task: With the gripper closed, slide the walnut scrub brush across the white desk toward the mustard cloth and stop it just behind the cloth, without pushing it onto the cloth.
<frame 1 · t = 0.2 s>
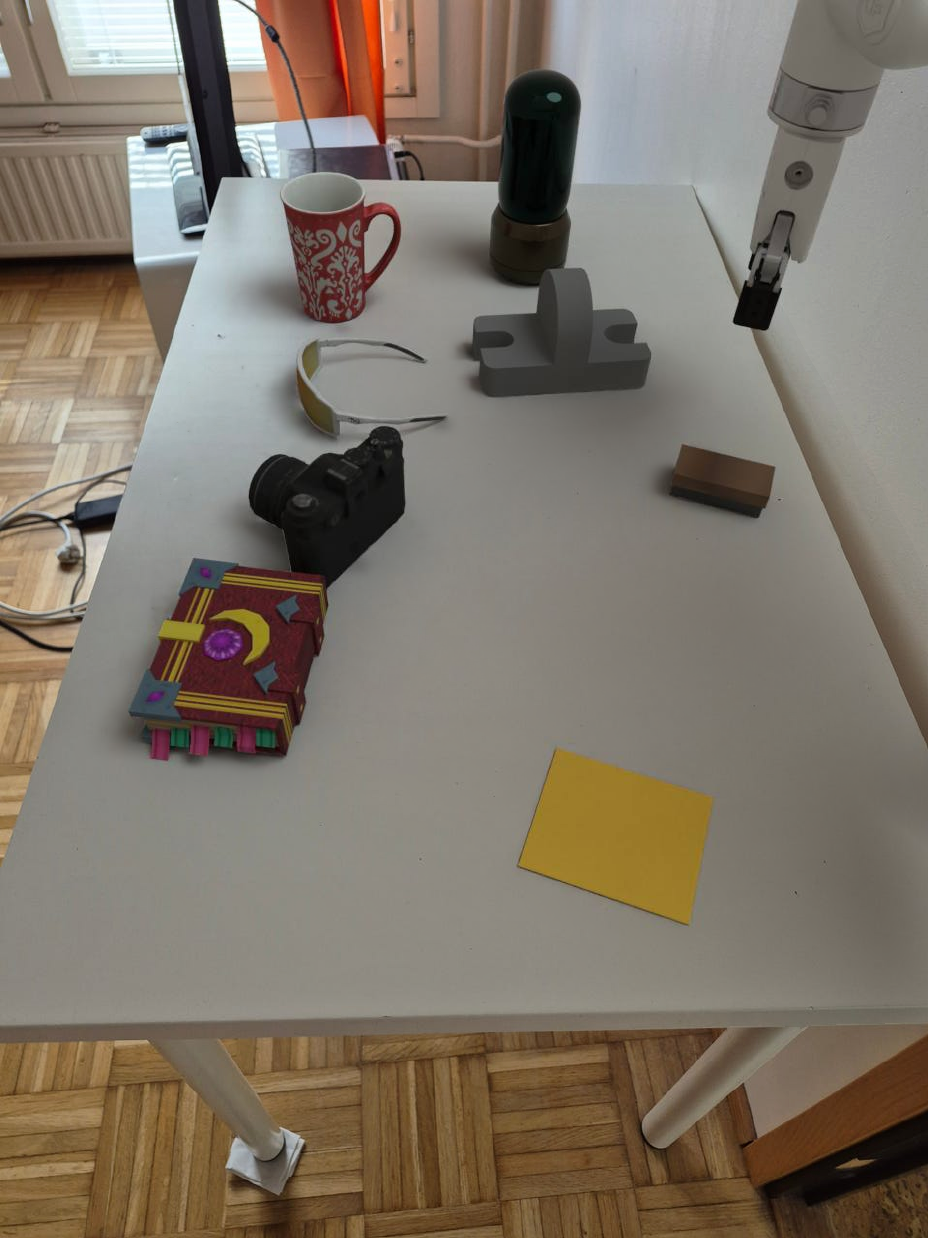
hand: (757, 297, 82), 14 cm above the table, tool pointing down, fingers open, 9 cm apart
cloth: (618, 831, 63), on the table
decorative book: (241, 678, 71), on the table
camera: (327, 530, 81), on the table
sunglasses: (369, 399, 93), on the table
brush: (716, 492, 86), on the table
lamp: (526, 269, 110), on the table
bracket: (557, 367, 98), on the table
mug: (348, 307, 104), on the table
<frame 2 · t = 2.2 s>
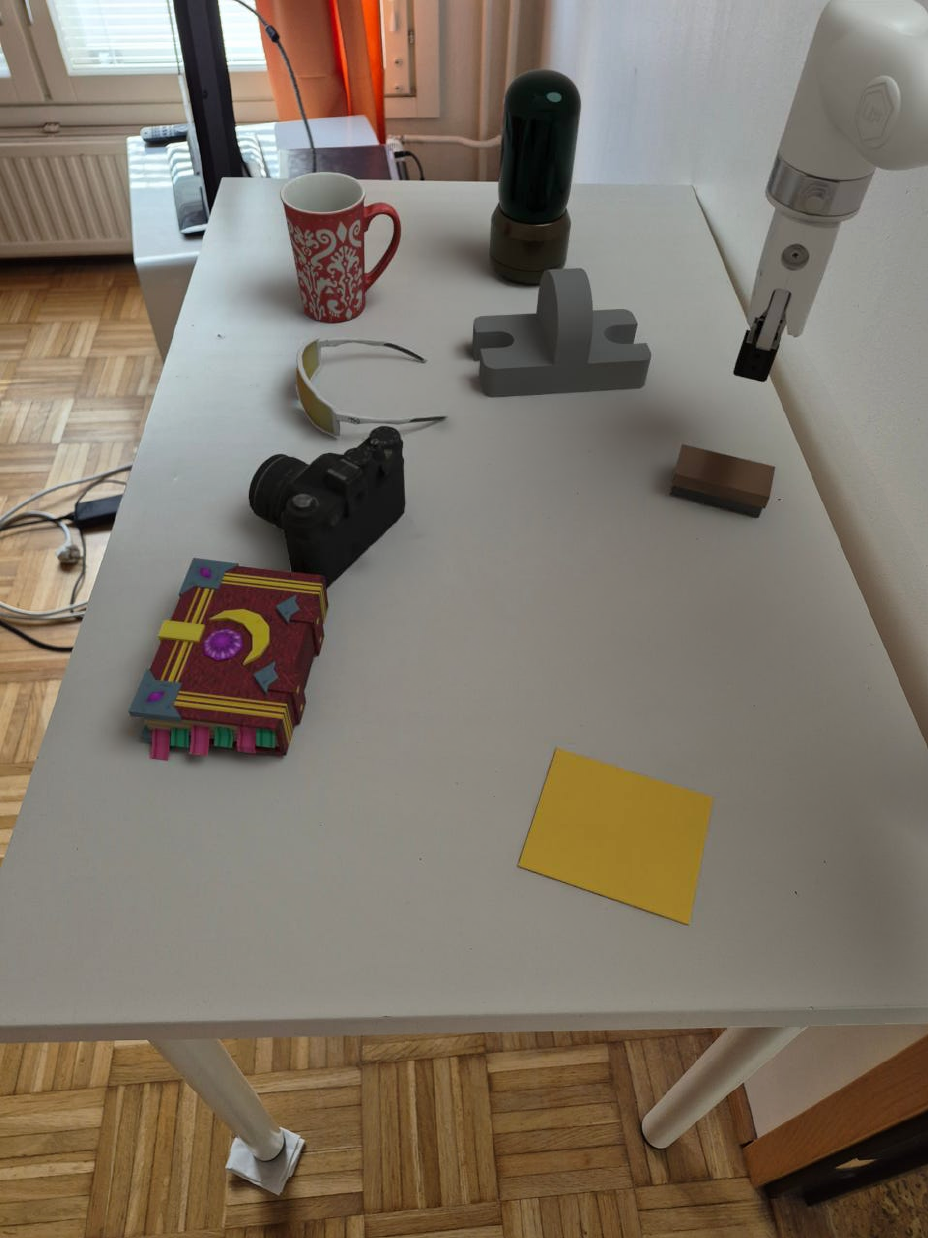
hand: (750, 373, 85), 8 cm above the table, tool pointing down, fingers closed
nothing on the table moved.
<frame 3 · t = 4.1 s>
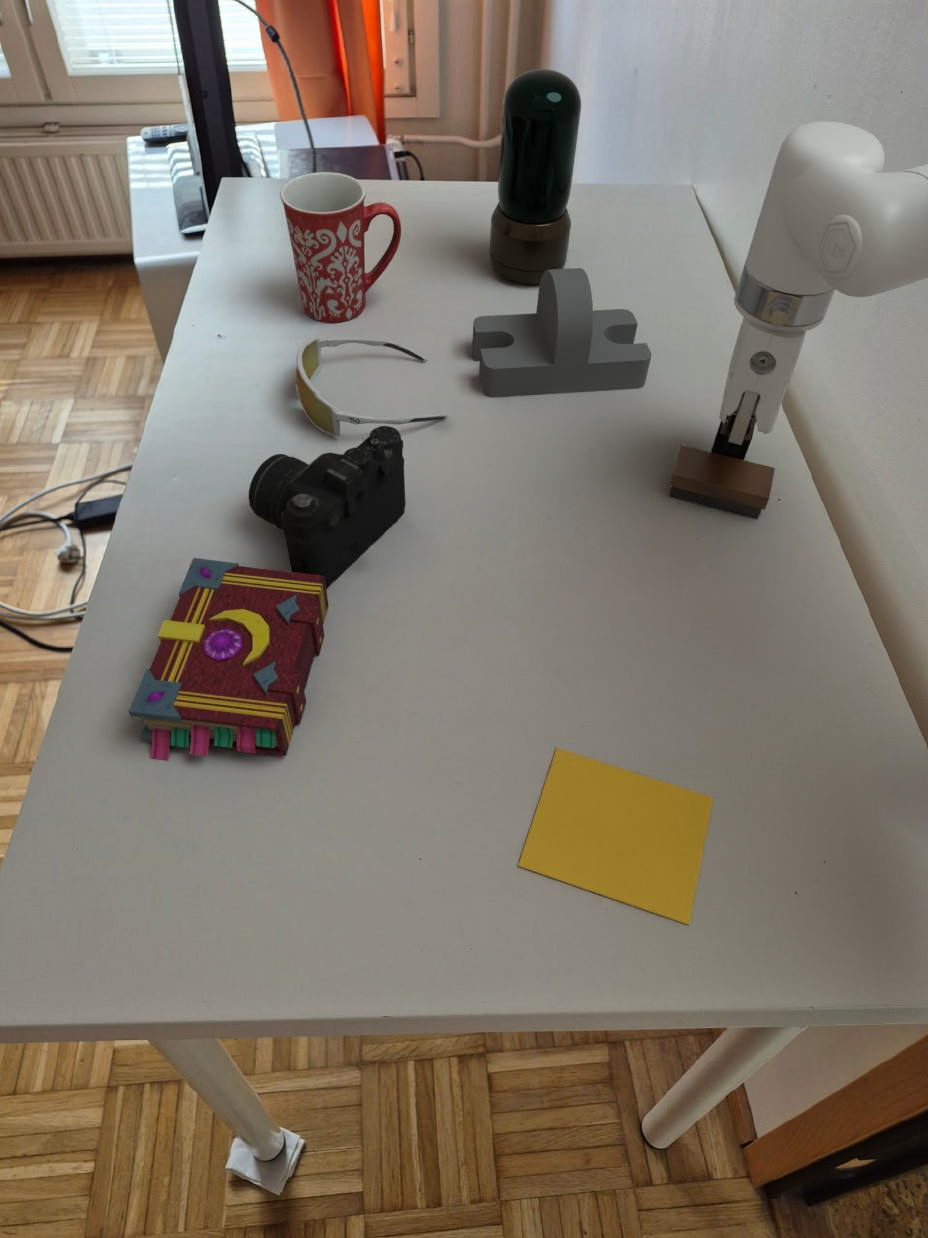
hand: (725, 459, 88), 1 cm above the table, tool pointing down, fingers closed
brush: (716, 494, 86), on the table, touching gripper
everything else where it was.
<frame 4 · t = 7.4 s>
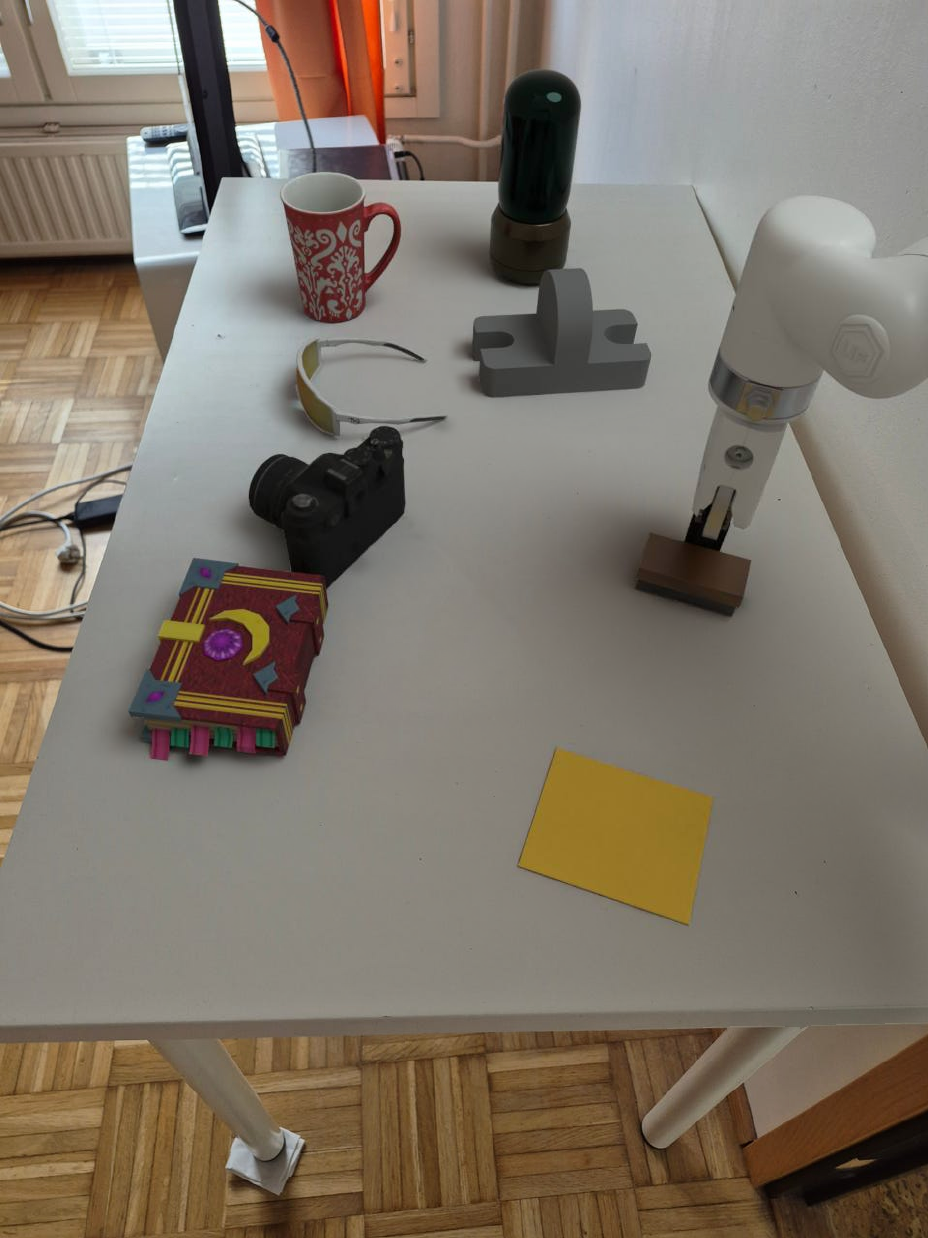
hand: (701, 546, 80), 1 cm above the table, tool pointing down, fingers closed
brush: (687, 586, 78), on the table, touching gripper
everything else where it was.
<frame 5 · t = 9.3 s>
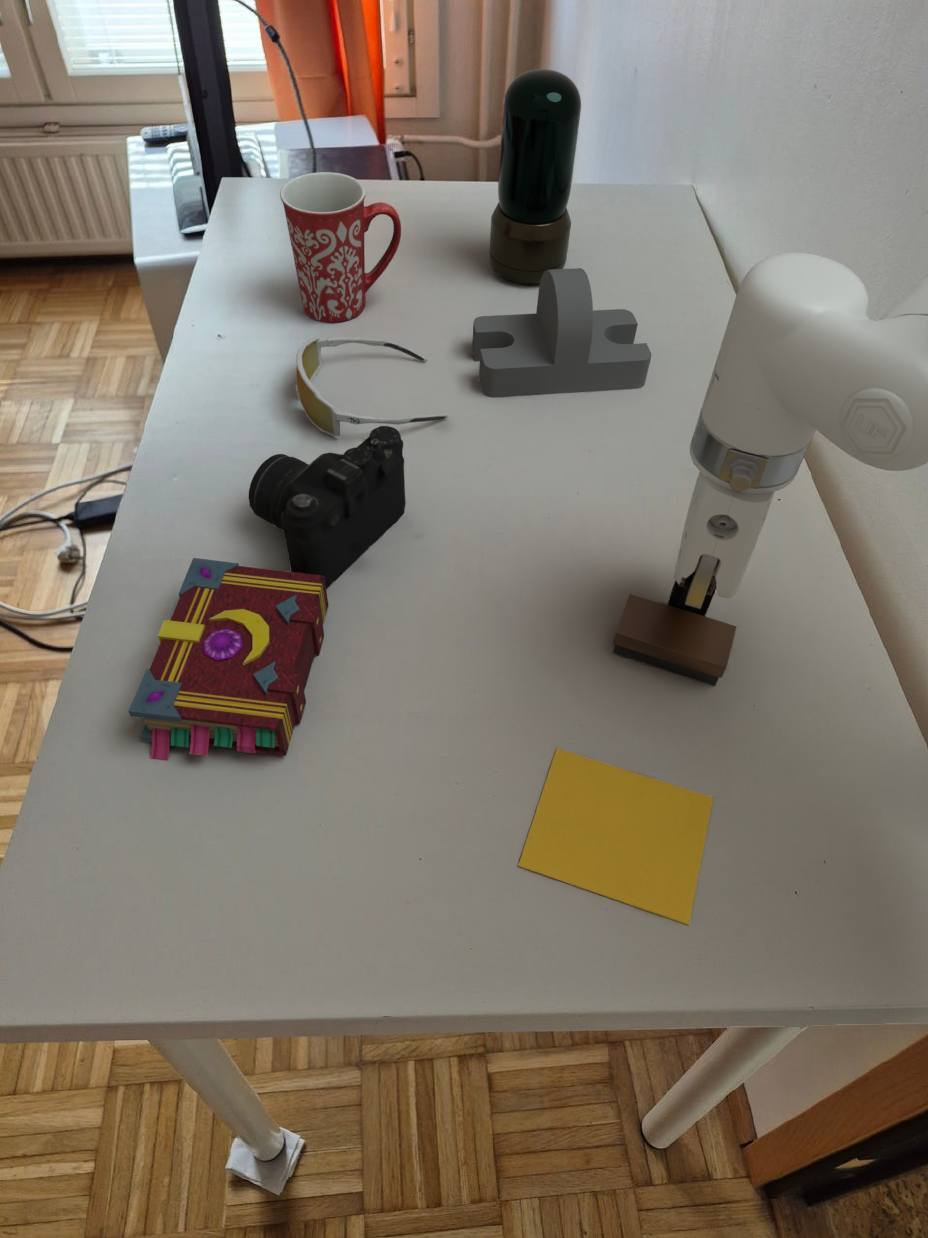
hand: (686, 608, 75), 1 cm above the table, tool pointing down, fingers closed
brush: (668, 651, 74), on the table, touching gripper
everything else where it was.
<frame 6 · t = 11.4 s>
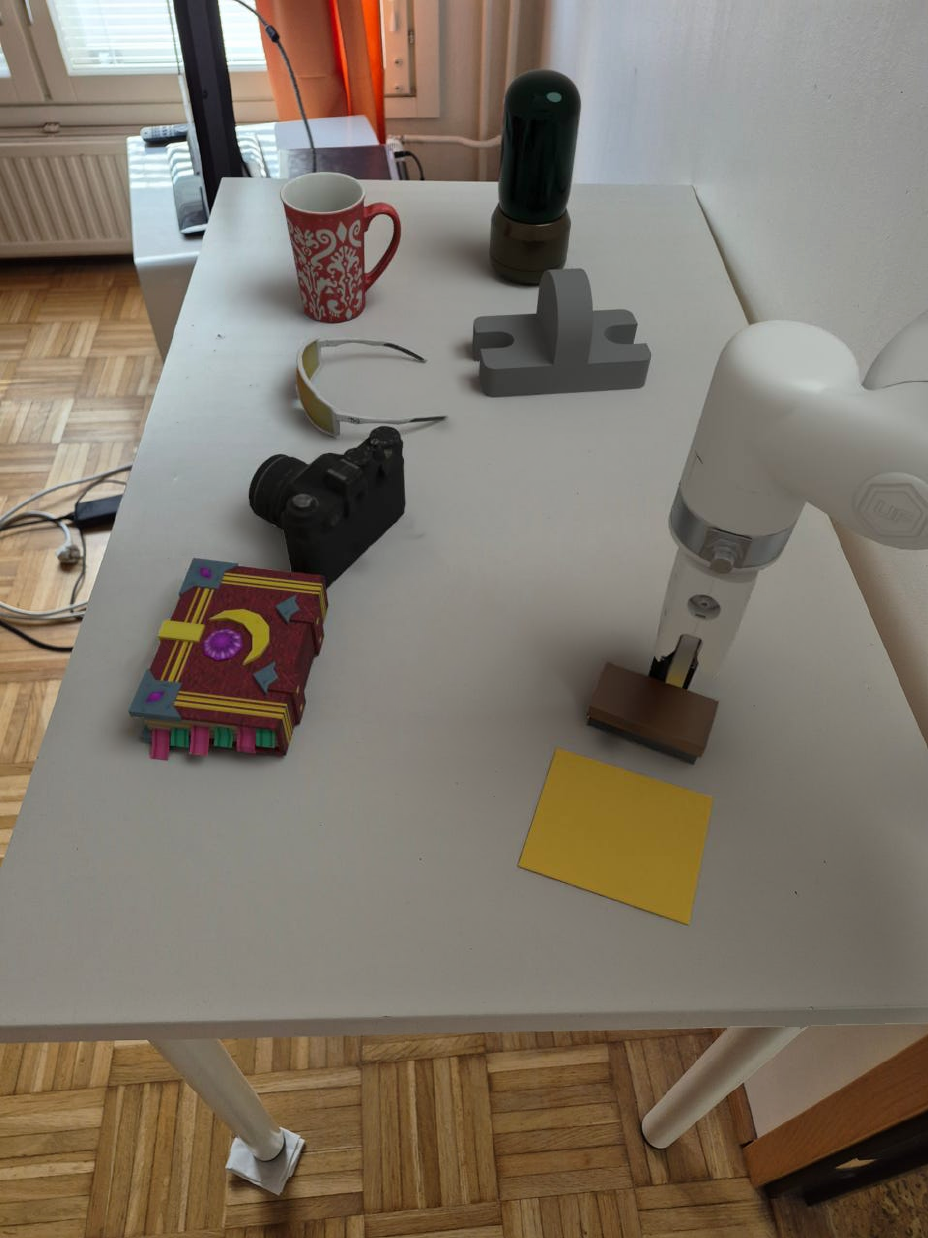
hand: (668, 678, 71), 1 cm above the table, tool pointing down, fingers closed
brush: (646, 724, 69), on the table, touching gripper
everything else where it was.
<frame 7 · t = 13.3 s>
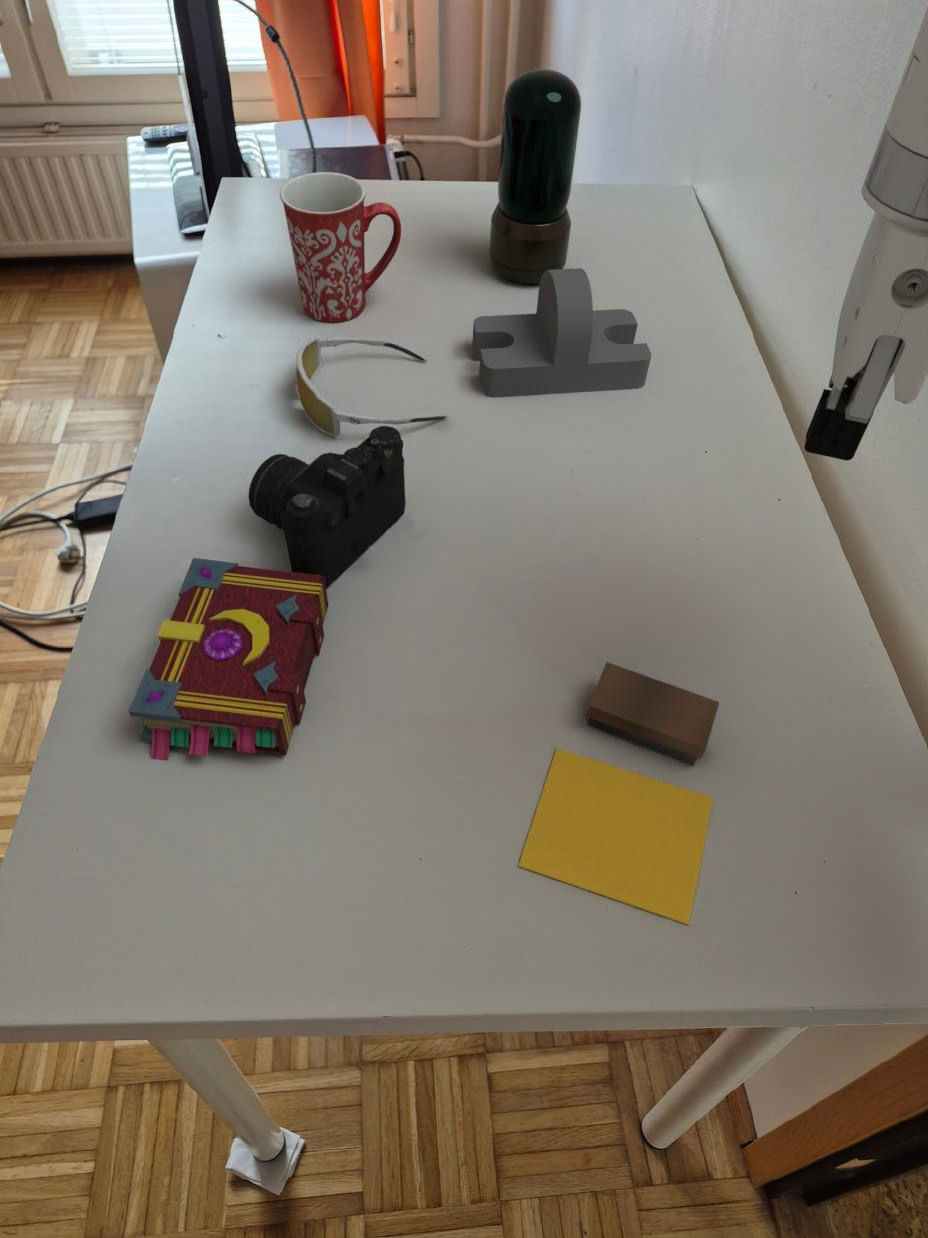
hand: (827, 448, 60), 20 cm above the table, tool pointing down, fingers closed
brush: (646, 724, 69), on the table
everything else where it was.
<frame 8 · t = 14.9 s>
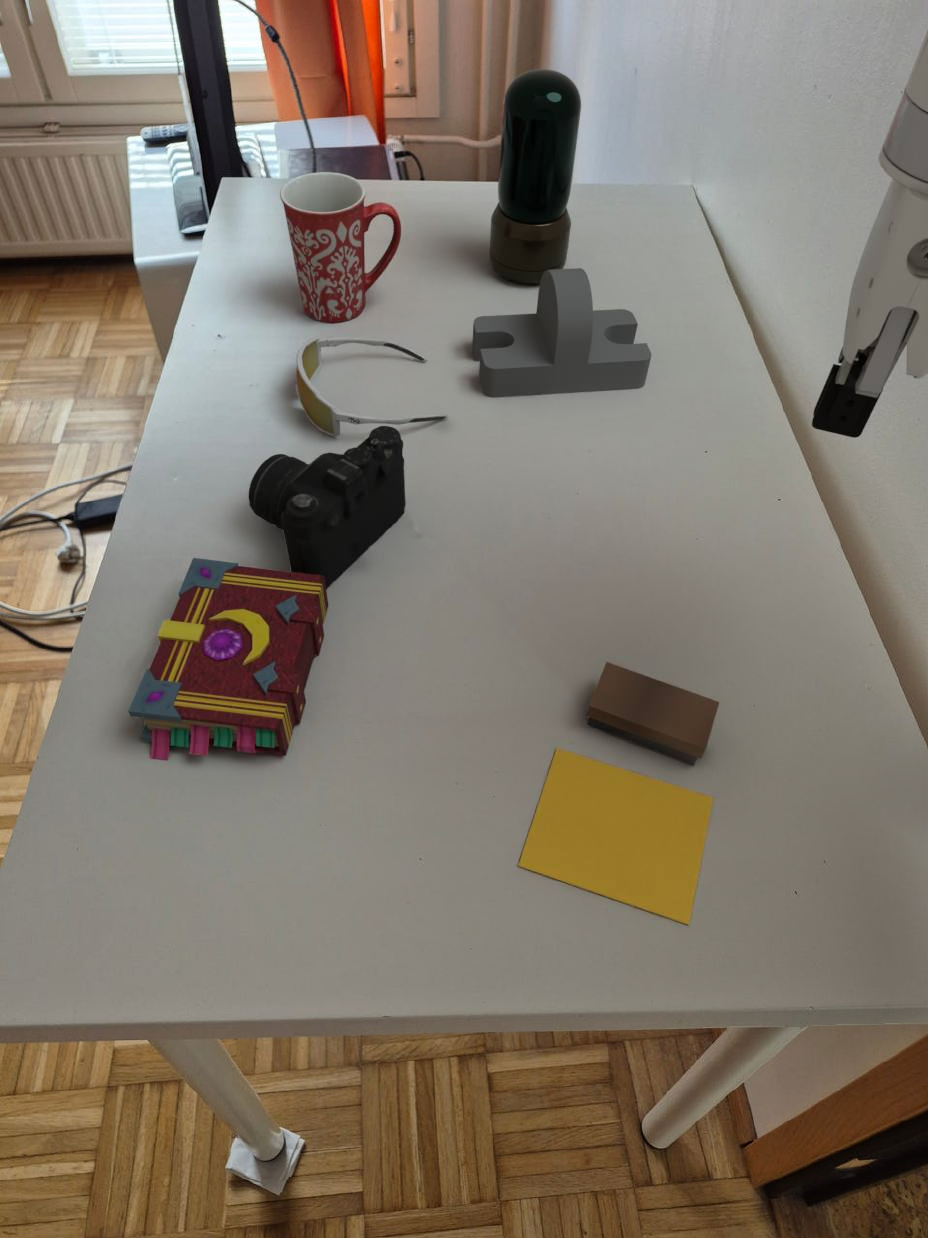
hand: (835, 425, 60), 21 cm above the table, tool pointing down, fingers closed
nothing on the table moved.
at the end: brush inside the target area on the table beside the cloth (0.8 cm from its centre), on the table; brush touching table; brush tilted 0° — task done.
